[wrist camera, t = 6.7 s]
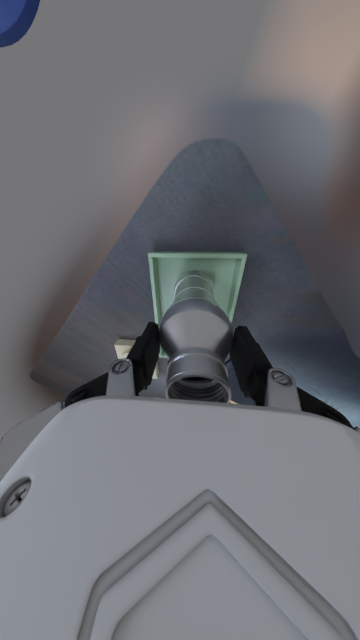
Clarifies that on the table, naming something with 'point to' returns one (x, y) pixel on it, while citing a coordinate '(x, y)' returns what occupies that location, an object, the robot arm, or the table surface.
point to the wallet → (236, 387)
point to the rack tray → (215, 264)
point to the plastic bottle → (196, 342)
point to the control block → (124, 349)
